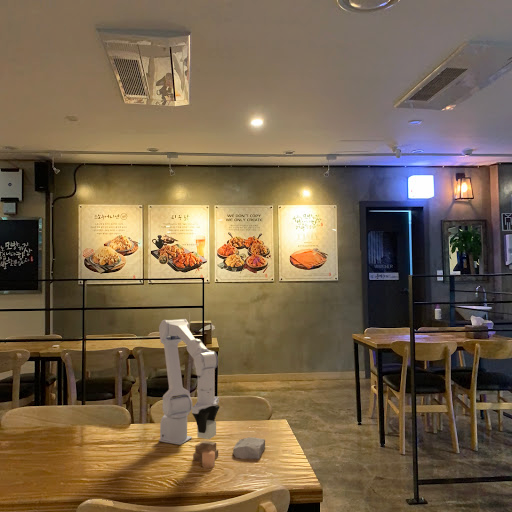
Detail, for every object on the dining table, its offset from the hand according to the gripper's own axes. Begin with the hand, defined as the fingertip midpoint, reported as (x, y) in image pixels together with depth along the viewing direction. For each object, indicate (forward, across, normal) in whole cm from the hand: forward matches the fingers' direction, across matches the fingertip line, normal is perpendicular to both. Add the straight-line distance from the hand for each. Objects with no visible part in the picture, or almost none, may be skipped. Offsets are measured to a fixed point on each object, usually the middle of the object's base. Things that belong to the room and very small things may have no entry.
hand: (205, 430), depth 149 cm
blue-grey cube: (+2, 0, 0) cm, 2 cm away
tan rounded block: (+9, -5, -4) cm, 11 cm away
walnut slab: (+9, 0, 0) cm, 9 cm away
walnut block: (+7, 0, 0) cm, 7 cm away
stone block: (+10, +10, -11) cm, 18 cm away
